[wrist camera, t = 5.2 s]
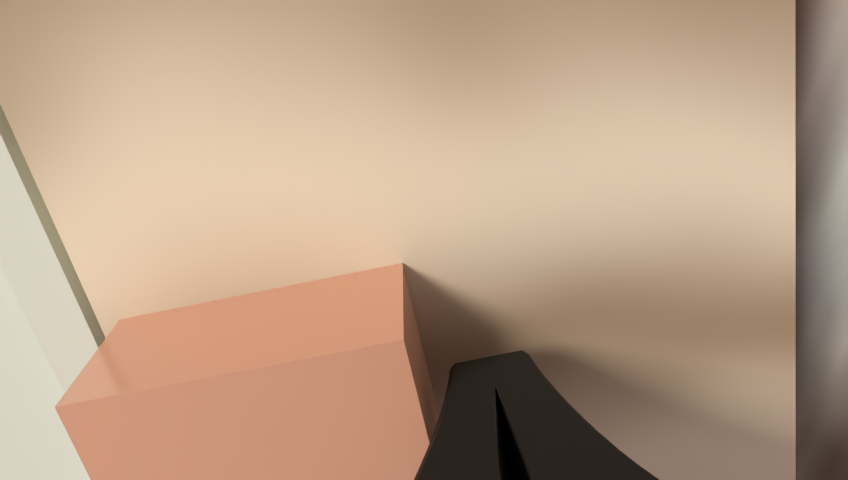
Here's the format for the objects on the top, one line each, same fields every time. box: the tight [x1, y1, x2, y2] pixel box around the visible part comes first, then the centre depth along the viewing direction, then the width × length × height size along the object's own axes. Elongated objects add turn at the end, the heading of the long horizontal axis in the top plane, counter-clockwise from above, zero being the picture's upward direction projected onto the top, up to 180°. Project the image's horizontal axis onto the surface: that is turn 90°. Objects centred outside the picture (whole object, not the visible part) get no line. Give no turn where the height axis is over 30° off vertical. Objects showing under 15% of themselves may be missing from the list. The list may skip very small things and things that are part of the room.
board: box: [0, 0, 796, 480], centre depth 14 cm, size 16×12×2 cm
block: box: [55, 263, 439, 480], centre depth 12 cm, size 5×5×2 cm
